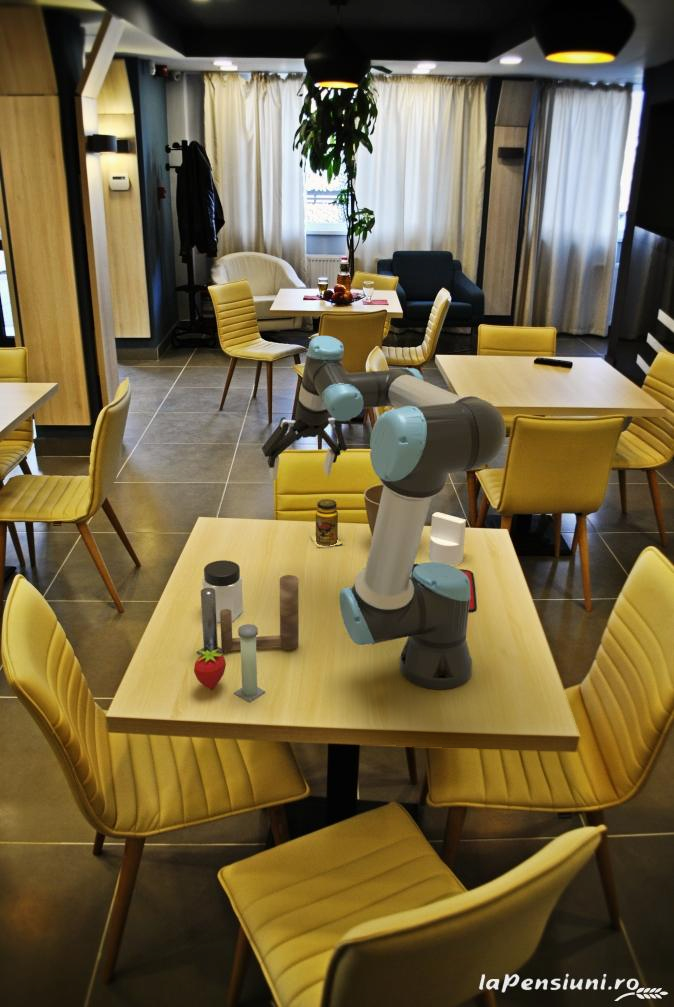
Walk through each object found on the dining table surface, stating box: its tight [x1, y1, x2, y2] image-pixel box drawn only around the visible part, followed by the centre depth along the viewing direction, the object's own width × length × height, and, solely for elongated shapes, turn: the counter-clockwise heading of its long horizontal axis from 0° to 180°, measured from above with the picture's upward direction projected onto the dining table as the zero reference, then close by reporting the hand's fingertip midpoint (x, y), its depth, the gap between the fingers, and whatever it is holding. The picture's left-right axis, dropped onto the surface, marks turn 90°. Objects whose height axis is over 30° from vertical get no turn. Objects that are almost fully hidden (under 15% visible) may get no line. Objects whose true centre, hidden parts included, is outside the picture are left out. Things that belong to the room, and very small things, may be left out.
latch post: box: [233, 623, 266, 703], centre depth 167 cm, size 4×4×15 cm
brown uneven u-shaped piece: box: [219, 574, 300, 652], centre depth 181 cm, size 17×4×16 cm, turn 98°
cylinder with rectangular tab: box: [428, 511, 467, 566], centre depth 224 cm, size 9×9×12 cm
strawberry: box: [193, 645, 227, 691], centre depth 169 cm, size 6×8×10 cm
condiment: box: [315, 498, 339, 546], centre depth 233 cm, size 7×8×12 cm
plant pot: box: [363, 483, 384, 537], centre depth 228 cm, size 15×15×16 cm
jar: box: [202, 559, 244, 623], centre depth 196 cm, size 9×8×12 cm
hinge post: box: [195, 588, 226, 656], centre depth 180 cm, size 4×4×15 cm
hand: (299, 474), depth 201 cm, fingers open, 13 cm apart
